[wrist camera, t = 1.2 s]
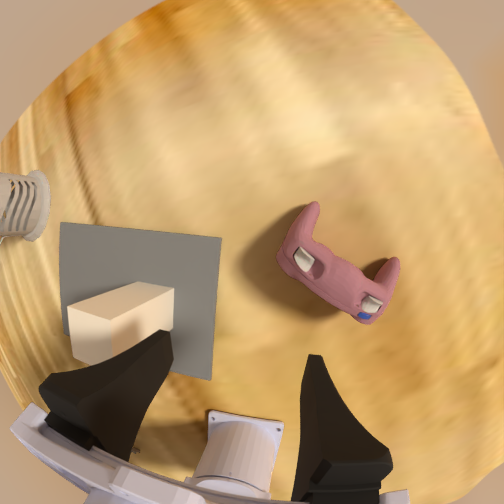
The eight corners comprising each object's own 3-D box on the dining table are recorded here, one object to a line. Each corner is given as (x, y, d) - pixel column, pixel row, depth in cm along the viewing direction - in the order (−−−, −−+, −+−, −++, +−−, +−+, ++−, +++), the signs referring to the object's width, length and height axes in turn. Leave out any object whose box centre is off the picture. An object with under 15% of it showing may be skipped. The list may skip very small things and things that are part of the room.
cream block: (173, 328, 25) (115, 375, 15) (137, 319, 26) (73, 357, 16) (174, 288, 25) (110, 320, 15) (137, 281, 25) (67, 306, 15)
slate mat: (211, 378, 25) (210, 380, 25) (66, 333, 28) (64, 333, 28) (221, 237, 24) (220, 238, 24) (62, 222, 27) (60, 222, 26)
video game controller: (285, 234, 25) (258, 275, 19) (311, 193, 22) (290, 224, 16) (372, 292, 24) (369, 345, 18) (403, 258, 21) (412, 308, 16)
